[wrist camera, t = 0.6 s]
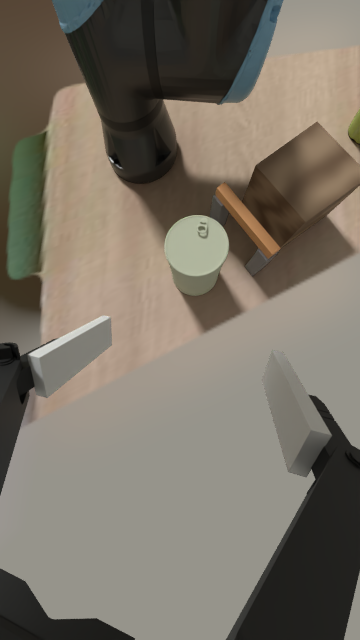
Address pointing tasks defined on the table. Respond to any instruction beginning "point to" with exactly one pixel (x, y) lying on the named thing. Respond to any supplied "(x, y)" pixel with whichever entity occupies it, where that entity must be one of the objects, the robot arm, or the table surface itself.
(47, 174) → the table surface
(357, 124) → the plant pot
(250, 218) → the terracotta bar
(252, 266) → the hurdle posts
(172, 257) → the can
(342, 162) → the walnut stand
